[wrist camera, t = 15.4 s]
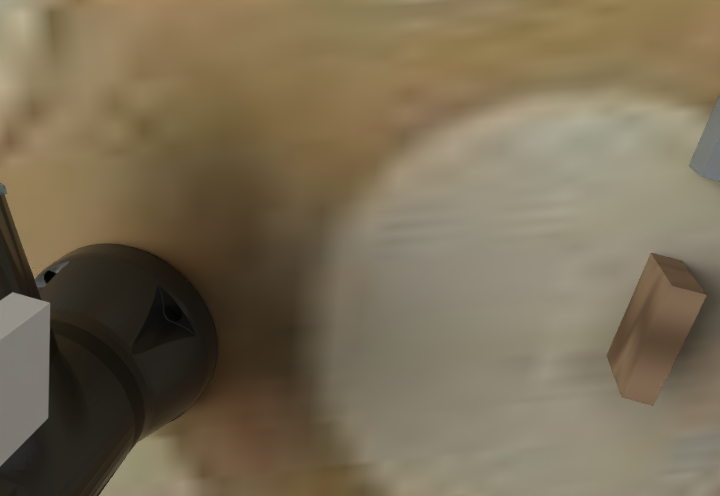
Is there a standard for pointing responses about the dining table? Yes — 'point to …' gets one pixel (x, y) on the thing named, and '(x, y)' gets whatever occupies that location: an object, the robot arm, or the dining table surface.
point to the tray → (709, 148)
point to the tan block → (654, 328)
